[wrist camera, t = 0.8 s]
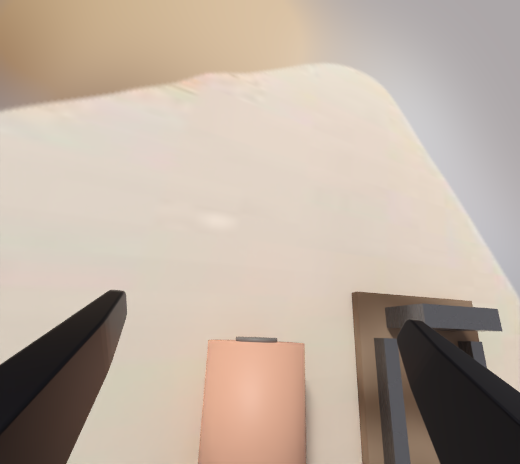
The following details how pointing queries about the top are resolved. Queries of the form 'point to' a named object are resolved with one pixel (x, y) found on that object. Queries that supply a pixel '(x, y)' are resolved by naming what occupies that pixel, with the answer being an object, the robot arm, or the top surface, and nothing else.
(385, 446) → the roll cradle
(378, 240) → the top surface
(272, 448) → the roll
